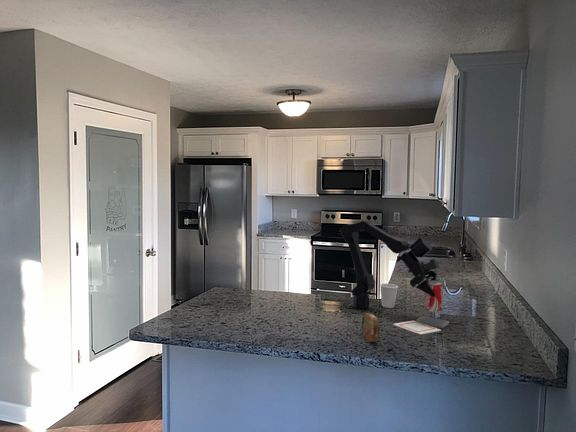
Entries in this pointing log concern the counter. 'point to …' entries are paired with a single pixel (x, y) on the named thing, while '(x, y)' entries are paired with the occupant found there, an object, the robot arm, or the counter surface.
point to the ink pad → (432, 322)
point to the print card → (417, 327)
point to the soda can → (434, 302)
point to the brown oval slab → (370, 327)
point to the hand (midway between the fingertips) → (437, 295)
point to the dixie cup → (388, 295)
